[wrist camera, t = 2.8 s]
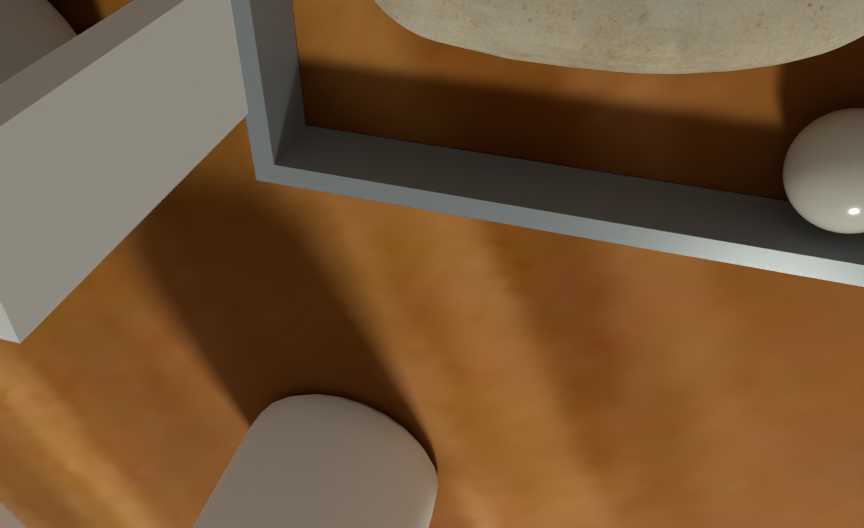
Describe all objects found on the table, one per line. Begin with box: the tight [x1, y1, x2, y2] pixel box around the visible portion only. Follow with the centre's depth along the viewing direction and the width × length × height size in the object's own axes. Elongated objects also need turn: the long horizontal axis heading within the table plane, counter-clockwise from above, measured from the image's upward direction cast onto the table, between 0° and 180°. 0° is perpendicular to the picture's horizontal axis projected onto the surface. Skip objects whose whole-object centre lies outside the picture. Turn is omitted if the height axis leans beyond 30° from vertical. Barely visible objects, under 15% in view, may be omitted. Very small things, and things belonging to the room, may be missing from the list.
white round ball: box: [783, 108, 864, 234], centre depth 20 cm, size 3×3×3 cm
